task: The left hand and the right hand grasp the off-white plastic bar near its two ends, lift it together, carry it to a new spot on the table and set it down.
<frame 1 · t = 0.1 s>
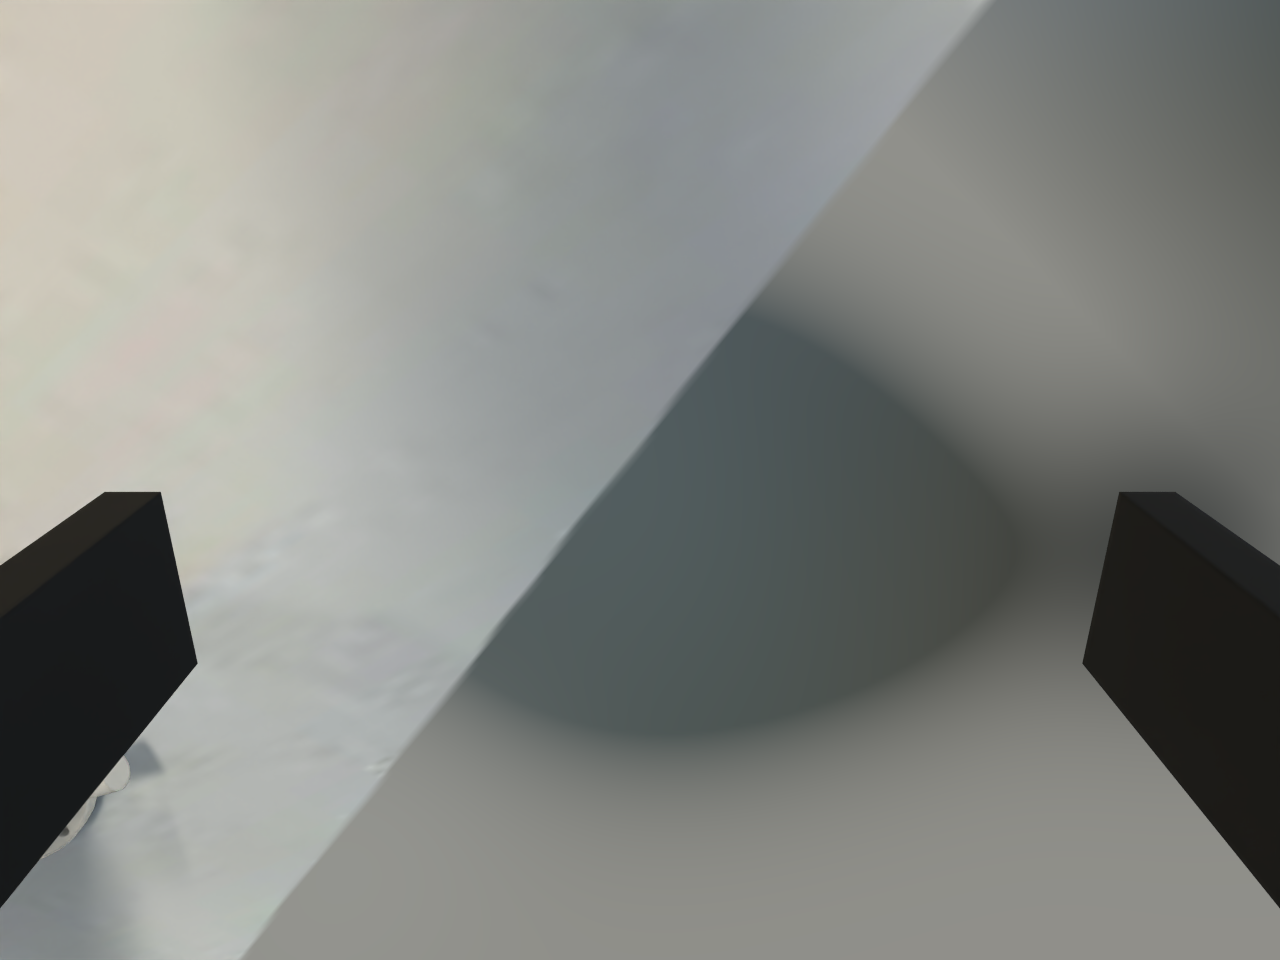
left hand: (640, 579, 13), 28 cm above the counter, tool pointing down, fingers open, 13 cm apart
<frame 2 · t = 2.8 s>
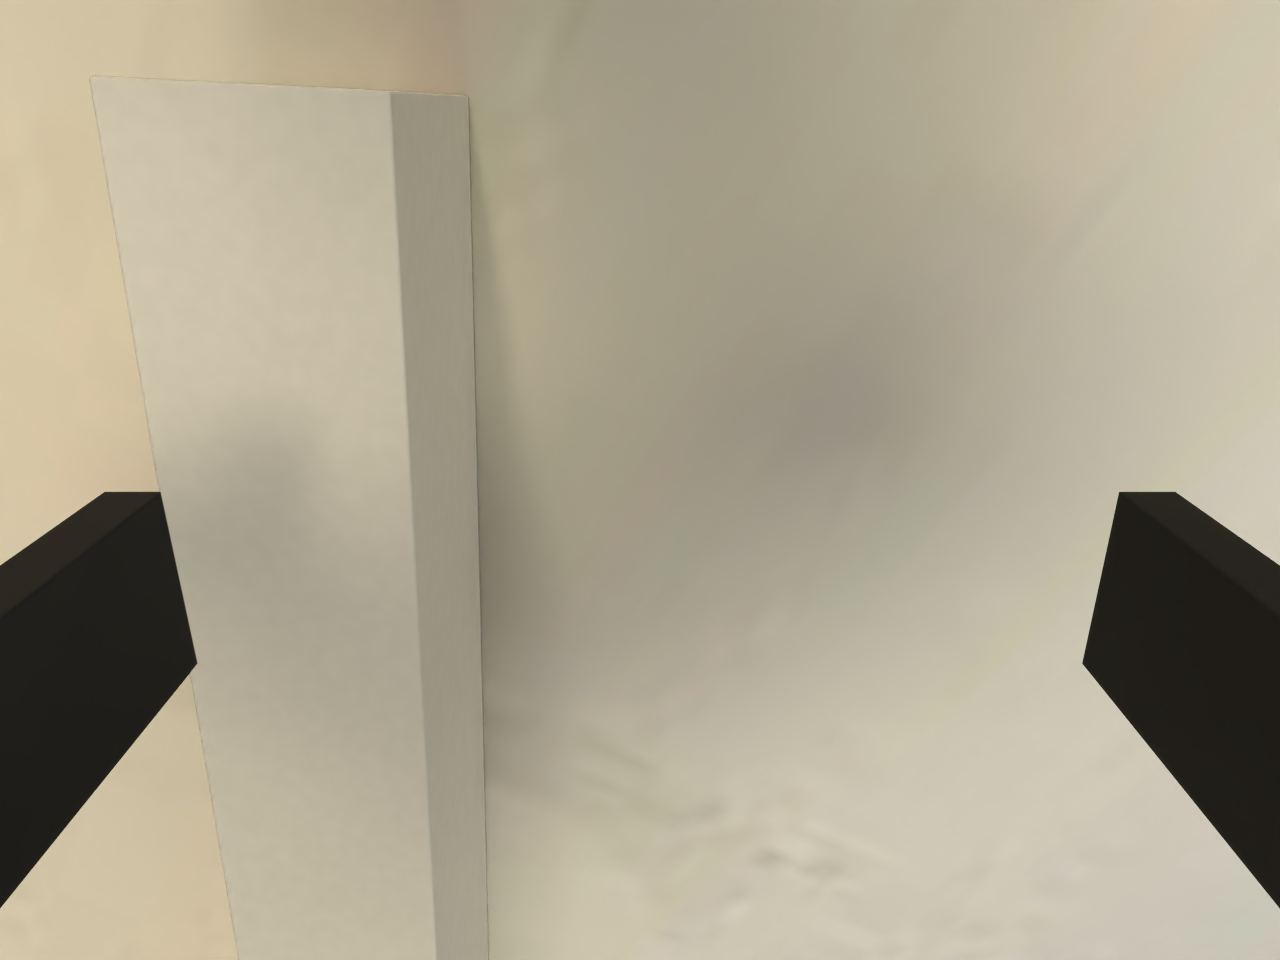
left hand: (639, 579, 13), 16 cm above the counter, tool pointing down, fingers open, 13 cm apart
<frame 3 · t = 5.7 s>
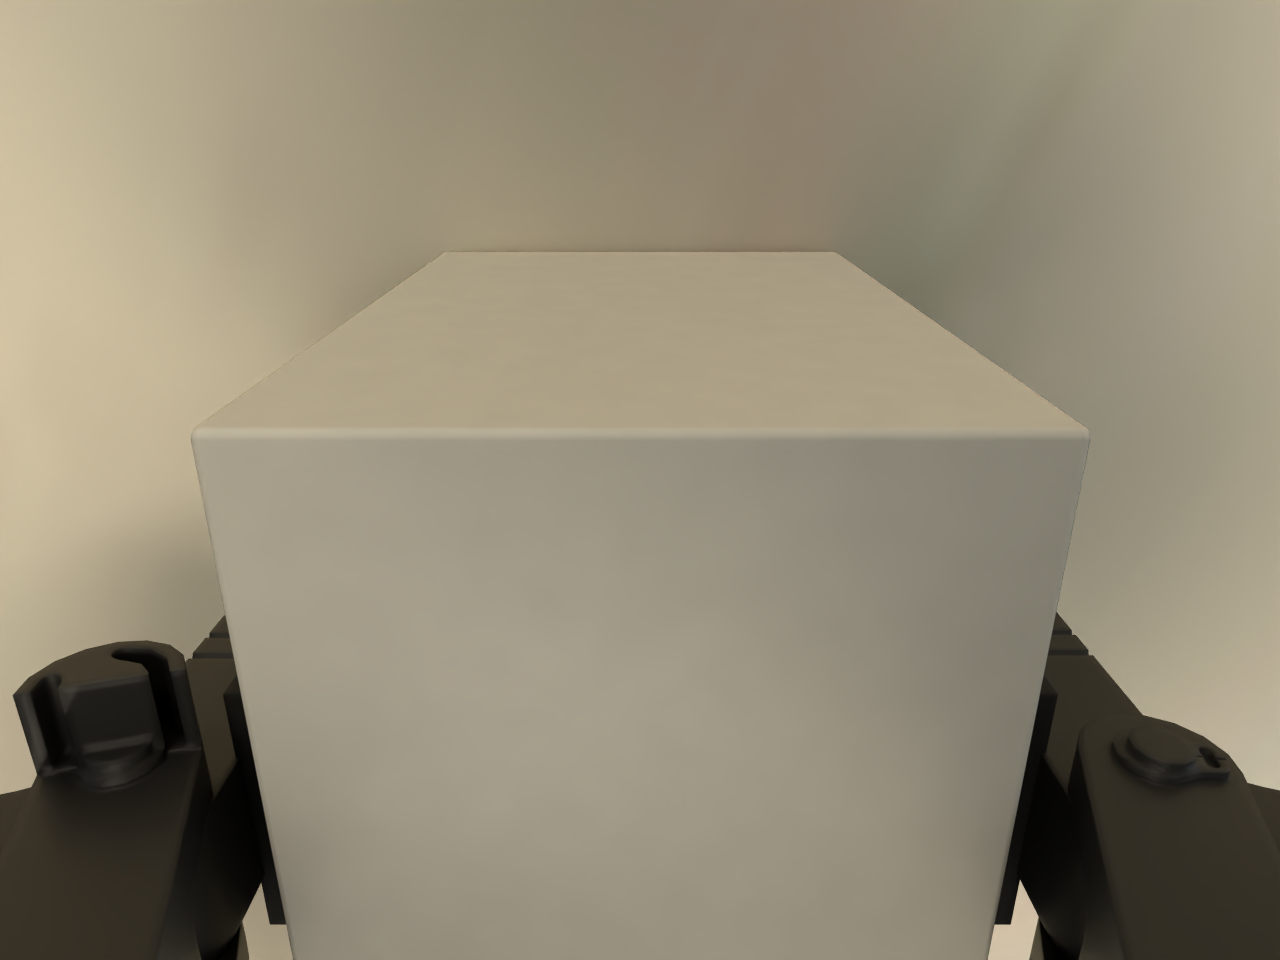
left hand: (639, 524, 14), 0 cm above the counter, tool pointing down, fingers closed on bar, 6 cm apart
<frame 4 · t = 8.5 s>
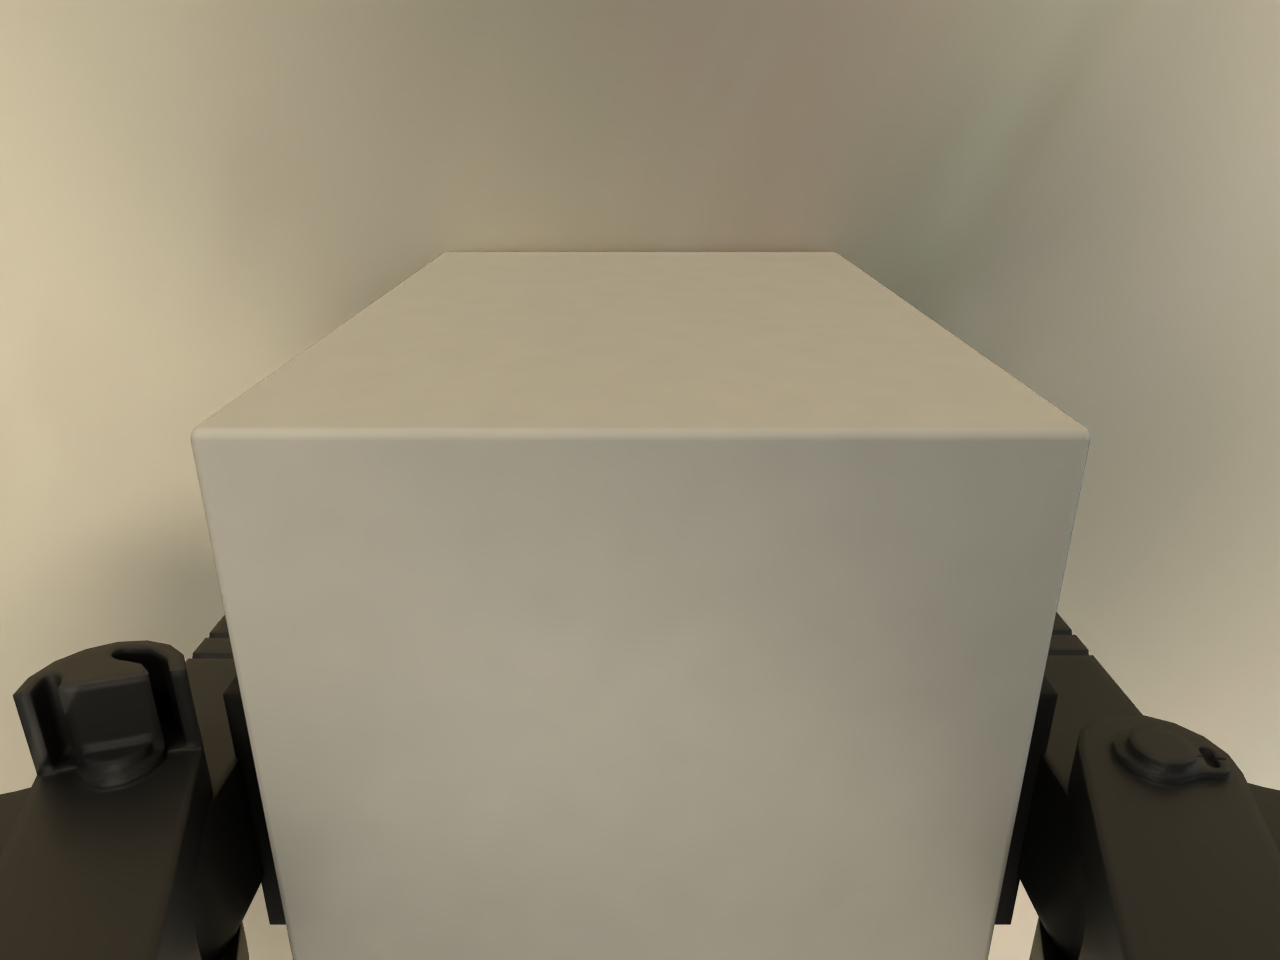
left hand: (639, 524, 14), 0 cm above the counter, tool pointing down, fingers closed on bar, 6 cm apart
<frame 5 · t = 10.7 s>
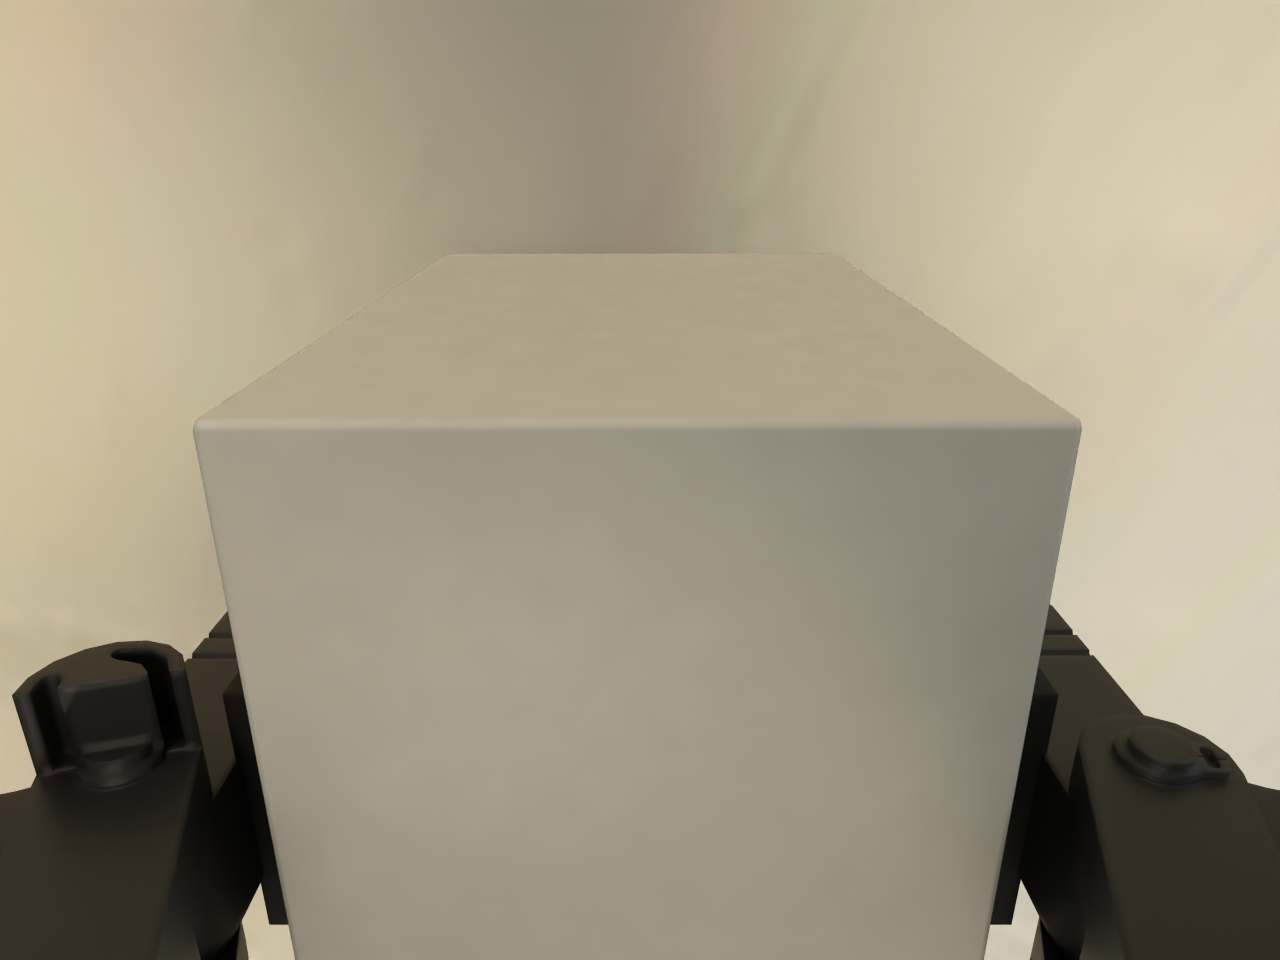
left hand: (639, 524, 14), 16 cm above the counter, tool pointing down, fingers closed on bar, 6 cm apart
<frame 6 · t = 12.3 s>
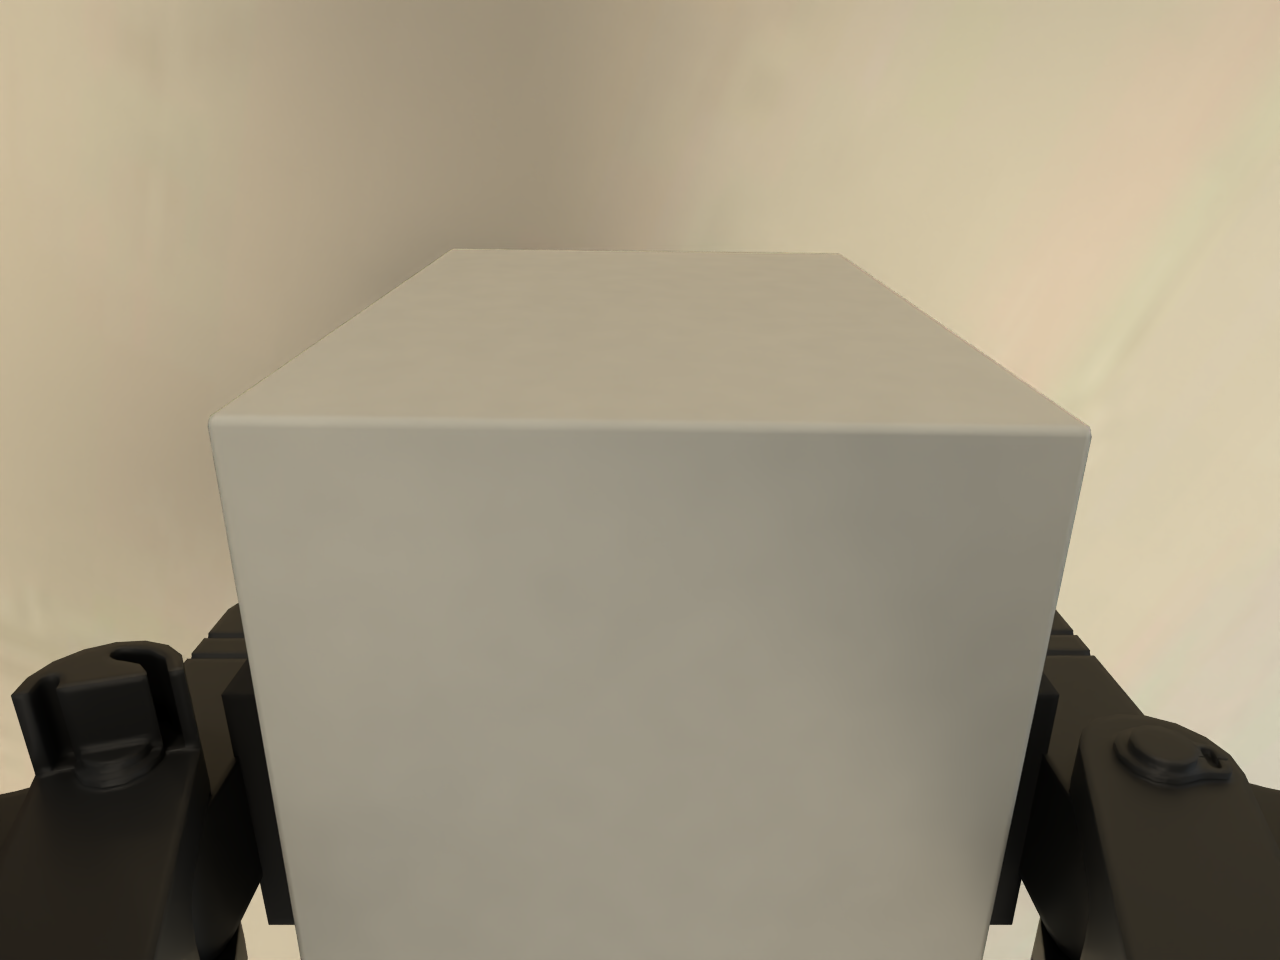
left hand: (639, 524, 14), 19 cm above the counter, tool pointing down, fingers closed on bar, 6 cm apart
when the left hand's fingers open (2 cm above the counter, at t = 16.2 s): bar drops 1 cm, on the counter.
when the right hand's fingers open (4 cm above the counter, at t = 16.4 s): bar stays where it is, on the counter.
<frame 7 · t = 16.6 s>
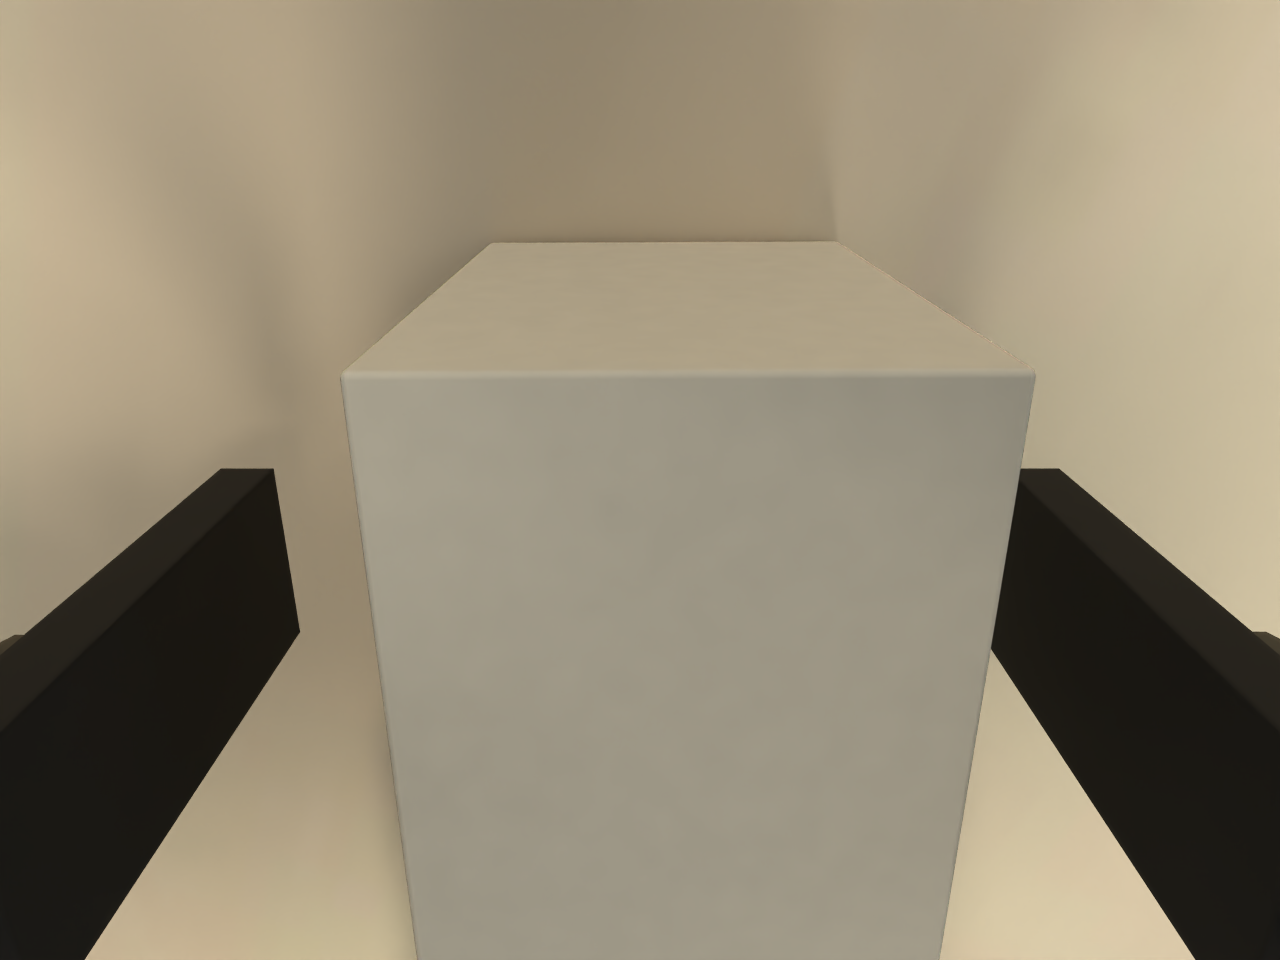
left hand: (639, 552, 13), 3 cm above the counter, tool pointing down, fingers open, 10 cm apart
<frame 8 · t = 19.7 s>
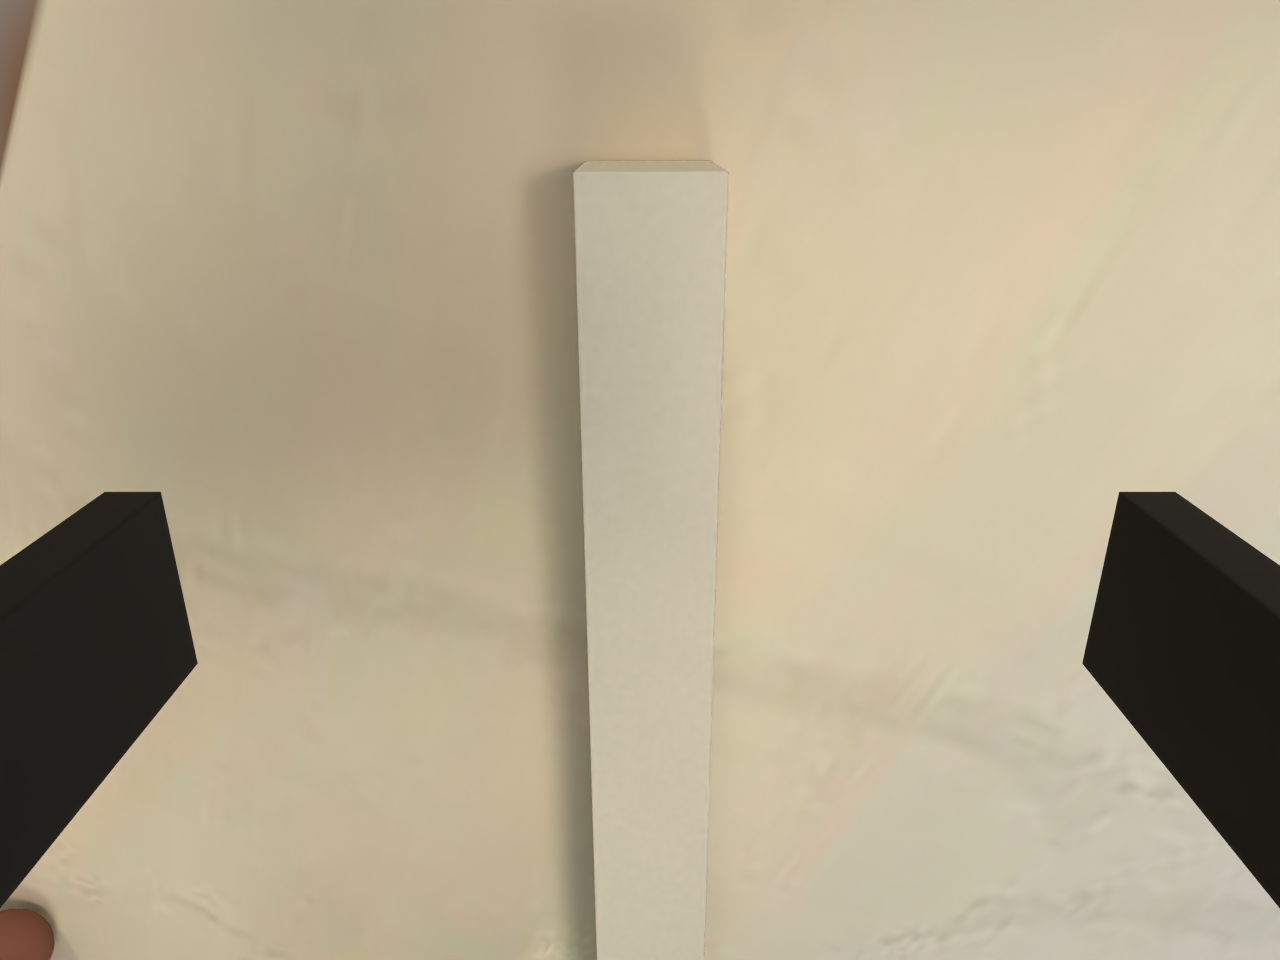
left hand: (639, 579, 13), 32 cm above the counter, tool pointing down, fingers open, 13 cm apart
bar: (649, 785, 54), on the counter
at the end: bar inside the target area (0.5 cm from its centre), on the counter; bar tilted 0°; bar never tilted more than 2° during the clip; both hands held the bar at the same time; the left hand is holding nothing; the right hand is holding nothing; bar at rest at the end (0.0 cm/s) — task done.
